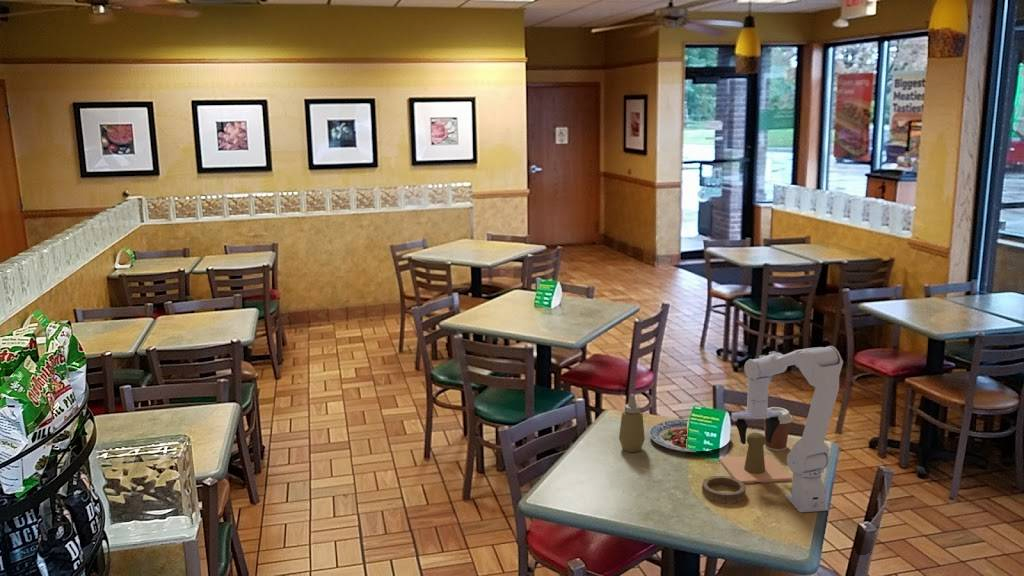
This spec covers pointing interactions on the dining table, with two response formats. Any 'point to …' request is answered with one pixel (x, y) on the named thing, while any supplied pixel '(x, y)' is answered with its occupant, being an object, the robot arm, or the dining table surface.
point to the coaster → (738, 472)
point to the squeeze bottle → (632, 427)
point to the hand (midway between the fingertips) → (755, 442)
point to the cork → (755, 454)
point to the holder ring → (721, 496)
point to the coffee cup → (779, 431)
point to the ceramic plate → (671, 434)
